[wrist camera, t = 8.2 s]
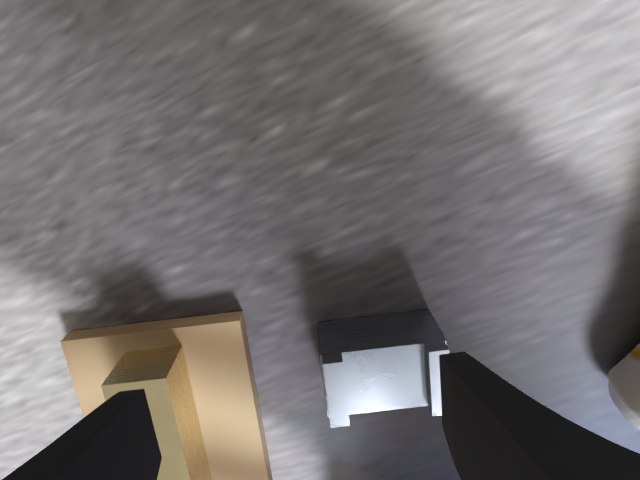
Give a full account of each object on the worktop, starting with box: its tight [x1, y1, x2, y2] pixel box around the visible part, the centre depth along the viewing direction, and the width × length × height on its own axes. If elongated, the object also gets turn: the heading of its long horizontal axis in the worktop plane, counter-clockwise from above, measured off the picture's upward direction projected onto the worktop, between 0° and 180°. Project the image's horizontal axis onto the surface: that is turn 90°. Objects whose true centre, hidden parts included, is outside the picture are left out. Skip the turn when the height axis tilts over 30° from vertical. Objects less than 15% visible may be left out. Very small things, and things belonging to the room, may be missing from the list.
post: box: [318, 309, 449, 428], centre depth 21 cm, size 3×5×4 cm, turn 97°
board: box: [61, 311, 272, 480], centre depth 24 cm, size 16×8×1 cm, turn 7°
